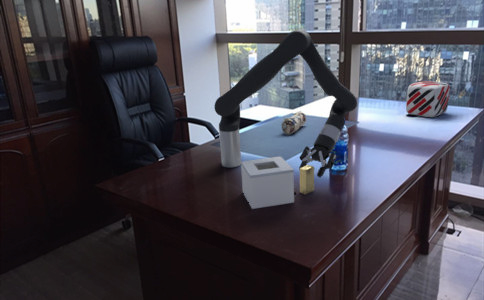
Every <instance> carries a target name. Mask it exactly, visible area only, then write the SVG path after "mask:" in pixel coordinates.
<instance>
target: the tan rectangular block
mask: <svg viewBox="0 0 484 300" xmlns="http://www.w3.org/2000/svg"><path fill="white" fill-rule="evenodd" d="M314 191H315V166H313V165H310V164H307V165H306V166H304V167H302V168H300V170H299V193H301V194H304V195H308V194H310V193H312V192H314Z"/></svg>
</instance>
